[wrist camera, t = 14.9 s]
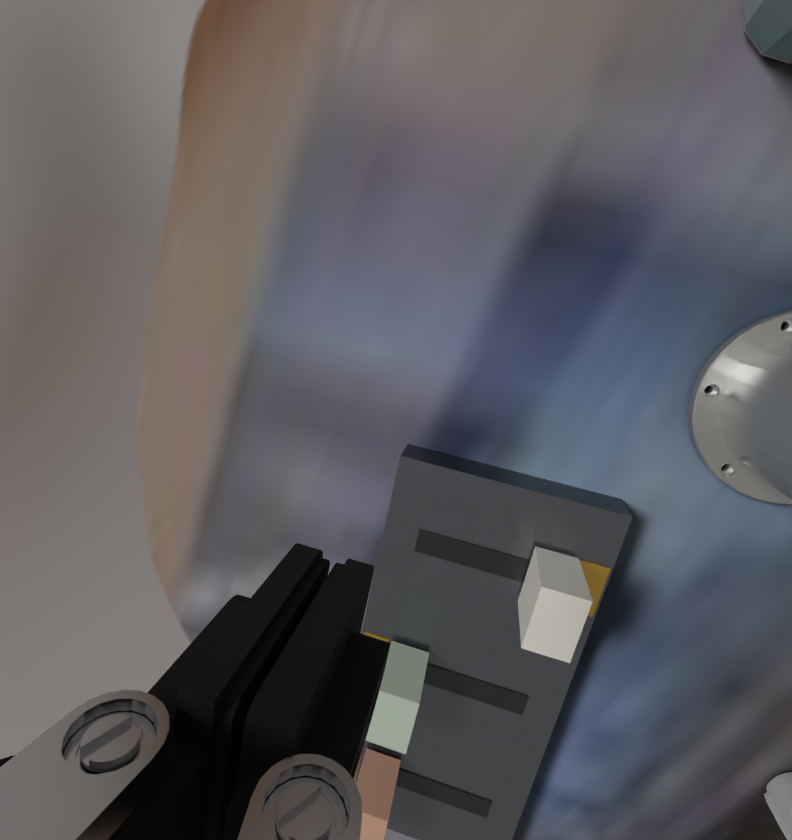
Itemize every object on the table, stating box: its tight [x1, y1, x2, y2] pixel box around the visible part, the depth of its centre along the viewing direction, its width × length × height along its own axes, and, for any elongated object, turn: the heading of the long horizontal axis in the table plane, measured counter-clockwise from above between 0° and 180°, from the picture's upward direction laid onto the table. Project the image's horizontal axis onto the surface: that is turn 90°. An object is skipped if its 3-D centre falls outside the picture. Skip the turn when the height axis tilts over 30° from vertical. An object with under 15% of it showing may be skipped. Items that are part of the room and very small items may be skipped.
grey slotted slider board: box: [354, 444, 633, 840], centre depth 40 cm, size 16×34×3 cm, turn 168°
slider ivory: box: [518, 546, 593, 663], centre depth 32 cm, size 3×4×5 cm, turn 168°
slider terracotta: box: [356, 748, 401, 840], centre depth 39 cm, size 3×4×5 cm, turn 168°
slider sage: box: [366, 641, 429, 754], centre depth 36 cm, size 3×4×5 cm, turn 168°
